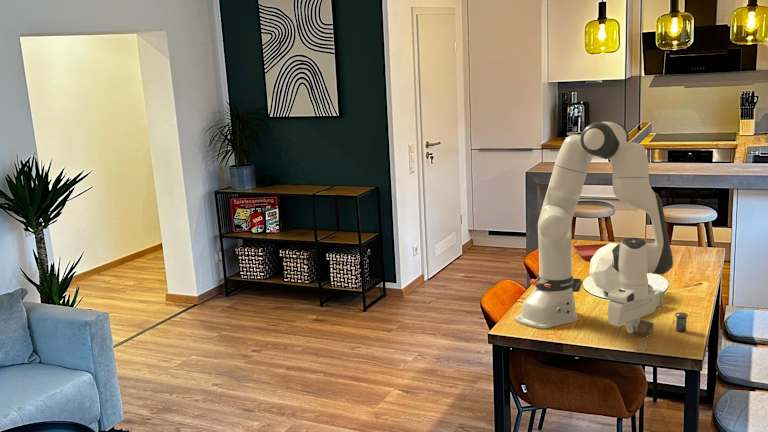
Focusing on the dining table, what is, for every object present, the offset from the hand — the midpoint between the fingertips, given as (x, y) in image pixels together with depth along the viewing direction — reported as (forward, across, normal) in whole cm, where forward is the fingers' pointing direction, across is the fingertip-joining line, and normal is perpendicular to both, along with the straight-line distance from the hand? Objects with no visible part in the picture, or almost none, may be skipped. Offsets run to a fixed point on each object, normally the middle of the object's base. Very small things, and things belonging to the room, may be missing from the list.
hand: (632, 331), depth 223 cm
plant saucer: (+3, -74, -69) cm, 101 cm away
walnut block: (+2, -5, 0) cm, 6 cm away
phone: (+3, -30, -49) cm, 58 cm away
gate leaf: (+2, -26, -12) cm, 28 cm away
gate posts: (+2, -16, -3) cm, 17 cm away
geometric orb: (+2, -35, -31) cm, 47 cm away
